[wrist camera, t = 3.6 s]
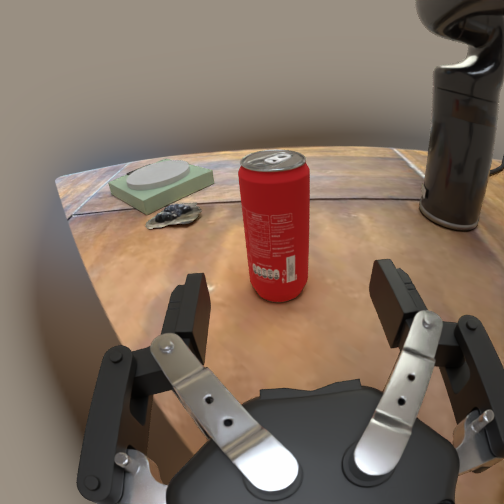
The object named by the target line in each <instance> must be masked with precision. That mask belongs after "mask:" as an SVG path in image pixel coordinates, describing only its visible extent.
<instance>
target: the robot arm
mask: <svg viewBox="0 0 504 504" xmlns="http://www.w3.org/2000/svg"><path fill="white" fill-rule="evenodd" d="M416 10H417V14H418V17H419V19H420V21H421V22H422V24H423V25H424V26H425V28H426V29H427V30H429V31H430V32H431V33H433V34H435V35H437V36H439V37H442V38H445V39H448V40H452V41H456V42H459V43H463V44H467V45H468V53H467V57H466V58H465V59H464V60H462V61H460V62H458V63H454V64H448V65H441V66H437V67H436V68H435V69H434V71H433V86H434V87H433V93H432V94H433V95H432V114H431V128H430V139H429V148H428V157H427V165H426V172H425V179H424V185H423V183H422V187H421V193H422V197H421V200H420V204H419V208H420V210H421V212H422V213H423V214H424V215H425V216H426V217H427V218H428V219H430V220H431V221H433V222H435V223H437V224H439V225H441V226H444V227H447V228H450V229H455V230H471V229H474V228H475V227H476V226H477V224H478V221H479V215H480V211H481V207H482V203H483V200H484V196H485V192H486V187H487V183H488V178H489V175H490V174H493V173H496V172H498V171H500V170H502V169H503V168H504V156H503V160H502V165H501V166H499V167H497V168H495V169H492V170H490V168H491V163H492V157H493V150H494V144H495V137H496V130H497V120H498V110H499V104H498V103H499V96H500V91H501V87H502V85H503V82H504V0H416ZM369 292H370V297H371V299H372V302H373V304H374V307H375V309H376V312H377V314H378V317H379V319H380V322H381V324H382V327H383V329H384V332H385V335H386V337H387V340H388V343H389V345H390V348H397V347H399V349H400V353H399V355H398V358H397V360H396V362H395V365H394V367H393V369H392V372H391V374H390V376H389V378H388V380H387V383H386V385H385V387H384V389H383V391H380V390H378V389H375V388H372V387H368V386H361V383H360V379H355V380H348V381H342V382H335V383H333V384H330V385H327V386H325V387H322V388H319V389H316V390H313V391H306V390H298V389H290V388H277V389H261V390H260V396H259V397H256V398H253V399H251V400H249V401H247V402H245V403H243V404H242V405H241V404H240V403H239V402H238V401H237V400H236V399H235V398H234V396H233V395H232V394H231V393H230V392H229V391H228V390H227V389H226V387H225V386H224V385H223V384H222V383H221V382H220V381H219V379H218V378H217V377H216V376H215V375H214V374H213V372H212V371H211V370H210V369H209V368H208V367H206V368H205V367H204V366H203V365H204V363H205V353H206V344H207V336H208V327H209V319H210V310H211V302H210V296H209V291H208V287H207V283H206V278H205V275H204V273H193V274H188V275H187V278H186V282H185V285H178V286H177V287H176V288H175V289H174V291H173V292H172V293H171V297H170V301H169V304H168V310H167V312H166V316H165V320H164V324H163V328H162V332H161V335H159V336H158V337H156V338H155V339H154V340H153V342H152V343H151V346H149V347H147V348H144V349H140V350H136V351H132V352H131V350H130V349H129V348H128V347H126V346H123V345H119V346H115V347H112V348H110V349H109V350H108V351H107V352H106V353H105V355H104V357H103V360H102V363H101V367H100V370H99V374H98V378H97V382H96V386H95V390H94V394H93V398H92V402H91V406H90V411H89V415H88V420H87V424H86V429H85V434H84V439H83V445H82V450H81V456H80V462H79V468H78V474H77V488H78V490H79V492H80V493H81V495H82V496H83V497H84V498H86V499H87V500H90V501H92V502H95V503H97V504H455V488H456V483H457V479H458V476H460V475H463V474H465V473H468V472H470V471H472V472H474V473H481V472H483V471H485V470H486V469H488V468H490V467H491V466H493V465H495V464H496V463H498V462H499V461H501V460H503V459H504V368H503V366H502V364H501V361H500V359H499V357H498V355H497V353H496V351H495V349H494V346H493V344H492V342H491V340H490V338H489V336H488V334H487V332H486V330H485V329H484V327H483V325H482V323H481V322H480V320H479V319H477V318H476V317H474V316H471V315H464V316H462V317H461V318H460V319H459V321H458V323H453V322H444V321H442V320H441V318H440V317H439V316H438V315H437V314H436V313H434V312H432V311H428V309H427V308H426V306H425V304H424V302H423V300H422V298H421V297H420V295H419V293H418V291H417V290H416V288H415V286H414V284H412V281H411V279H410V277H409V276H408V274H407V273H405V272H404V271H403V270H402V269H401V268H398V269H396V267H395V266H394V264H393V262H392V261H391V259H382V260H375V261H374V264H373V269H372V274H371V279H370V285H369ZM434 366H439V369H440V371H441V374H442V377H443V380H444V383H445V386H446V389H447V392H448V396H449V399H450V402H451V405H452V409H453V412H454V415H455V419H456V423H457V426H456V427H455V429H454V432H453V445H452V444H451V443H450V442H449V441H448V440H446V439H445V438H444V437H442V436H441V435H440V434H438V433H437V432H436V431H434V430H433V429H432V428H430V427H429V426H427V425H426V424H425V423H423V422H422V421H421V420H419V419H418V418H417V414H418V412H419V409H420V406H421V404H422V401H423V398H424V396H425V393H426V390H427V387H428V384H429V381H430V378H431V375H432V372H433V368H434ZM169 390H172V391H173V392H174V394H175V395H176V397H177V398H178V399H179V401H180V402H181V404H182V405H183V407H184V408H185V409H186V411H187V412H188V413H189V415H190V416H191V418H192V419H193V420H194V422H195V423H196V425H197V426H198V428H199V429H200V430H201V432H202V433H203V434H204V436H205V437H206V438H207V439H208V441H207V442H206V443H205V444H204V445H203V446H202V447H201V448H200V450H199V451H198V452H197V453H196V454H195V455H194V456H193V457H192V458H191V459H190V460H189V461H188V462H187V463H186V464H185V466H183V467H182V469H181V470H180V471H179V472H178V473H177V474H176V475H175V476H174V477H173V478H172V479H171V481H170V483H169V485H164V484H163V483H162V481H161V479H160V476H159V469H158V467H157V465H156V464H155V463H154V462H153V461H152V460H150V459H149V458H148V457H147V447H148V438H149V437H148V436H149V428H150V418H151V410H152V401H153V394H157V393H161V392H165V391H169Z"/></svg>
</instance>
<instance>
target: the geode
mask: <svg viewBox="0 0 504 504" xmlns="http://www.w3.org/2000/svg"><path fill="white" fill-rule="evenodd" d="M196 205H197V203H184V204H183V203H182V204H175V205H170V206H168V207H166V208H165V209H164V210H163V211H161V212H160V213H158V214H157V215H156V216H155V217H153V218H152V219H150V220H149V221H148V222H147V223H146V226H145V227H147V229H153V228H154V227H155V228H156V227H157V228H159V227H163V226H167V225H169V224H178V223H180V224H186V223H190V222H193V221H194V220H195V219H196V218H197V217H198V216H199V215H198V213H201V212H202V211H201V209H198V208H200V207H197V206H196Z"/></svg>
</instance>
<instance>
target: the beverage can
mask: <svg viewBox="0 0 504 504" xmlns="http://www.w3.org/2000/svg"><path fill="white" fill-rule="evenodd" d="M240 163H241V167H240V169H239V172H238V176H239V185H240V194H241V203H242V212H243V221H244V230H245V239H246V248H247V257H248V266H249V275H250V282H251V284H252V286H253V287H254V288H255V290H256V292H257V294H258V295H259V296H260V297H261V298H263V299H265V300H267V301H270V302H287V301H290V300H292V299H294V298H296V297H297V296H298V295H299V294H300V293H301V292H302V289H303V287H304V286H305V284H306V282H307V279H308V256H309V203H310V172H309V167H308V166H307V164H306V158H305V156H304V155H302V154H300V153H298V152H294V151H289V150H265V151H259V152H255V153H251V154H249V155H246V156H245V157H243V158H242V159H241V162H240Z"/></svg>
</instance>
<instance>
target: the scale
mask: <svg viewBox="0 0 504 504" xmlns="http://www.w3.org/2000/svg"><path fill="white" fill-rule="evenodd" d="M212 184H214V178H213V172H212V170H209V169H206V168H202V167H198V166H194V165H190V164H189V163H188V162H186V161H181V160H169V159H164V160H161V161H159V162H156V163H154V164H149V165H146V166H144V167H141V168H139V169H136V170H134V171H131V172H129V173H127V175H125V176H122V177H120V178H118V179H116V180H113V181H111V182H109V187H110V190H111V194H112V195H114V196H116V197H117V198H119V199H121V200H122V201H124V202H126V203H127V204H129V205H131V206H132V207H134V208H136V209H137V210H139V211H141V212H143V213H144V214H146V215H148V214H150V213H152V212H154V211H156V210H158V209H160V208H162V207H164V206H166V205H169V204H171V203H173V202H175V201H177V200H179V199H181V198H183V197H185V196H188V195H190V194H192V193H194V192H196V191H198V190H201V189H203V188H205V187H207V186H210V185H212Z"/></svg>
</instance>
